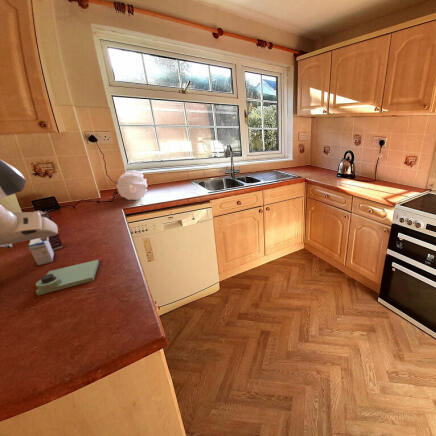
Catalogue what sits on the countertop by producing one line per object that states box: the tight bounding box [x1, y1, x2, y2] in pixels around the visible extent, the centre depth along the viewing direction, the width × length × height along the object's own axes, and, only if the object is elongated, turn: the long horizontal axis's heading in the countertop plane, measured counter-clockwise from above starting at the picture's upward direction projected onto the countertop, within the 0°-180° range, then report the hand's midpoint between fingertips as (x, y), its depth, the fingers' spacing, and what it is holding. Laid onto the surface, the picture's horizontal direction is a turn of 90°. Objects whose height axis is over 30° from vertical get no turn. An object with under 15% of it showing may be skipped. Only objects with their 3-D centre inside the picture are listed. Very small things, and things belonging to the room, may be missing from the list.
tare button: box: [40, 274, 55, 284], centre depth 77 cm, size 3×3×2 cm
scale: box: [35, 259, 100, 296], centre depth 83 cm, size 14×14×3 cm
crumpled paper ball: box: [115, 169, 148, 201], centre depth 171 cm, size 18×18×25 cm
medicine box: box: [28, 238, 55, 266], centre depth 93 cm, size 8×4×9 cm, turn 40°
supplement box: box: [34, 210, 64, 252], centre depth 101 cm, size 9×5×16 cm, turn 65°
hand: (28, 242), depth 86 cm, fingers open, 8 cm apart
